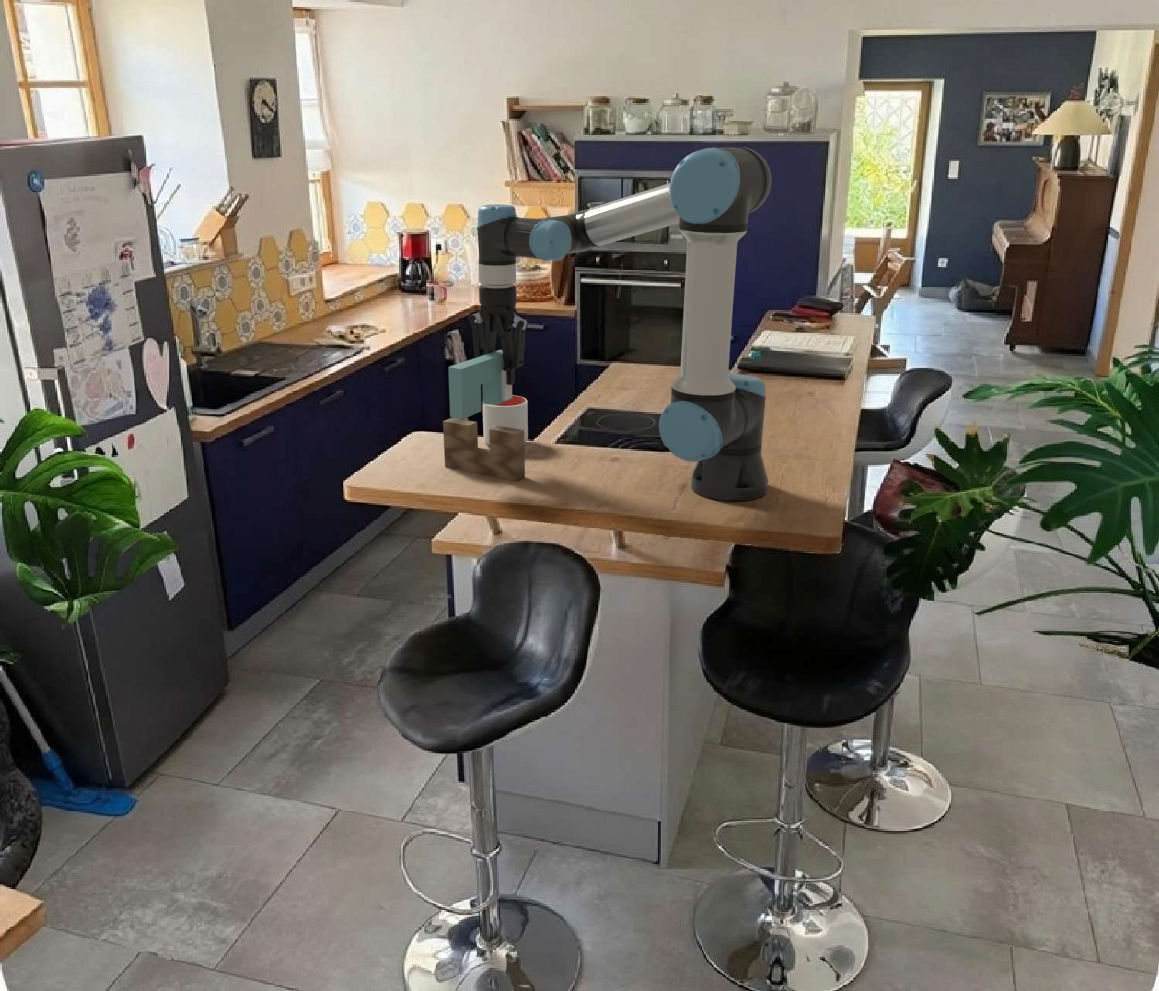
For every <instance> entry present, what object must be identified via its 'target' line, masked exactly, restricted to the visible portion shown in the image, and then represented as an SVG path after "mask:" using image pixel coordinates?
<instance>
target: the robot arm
mask: <svg viewBox="0 0 1159 991" xmlns="http://www.w3.org/2000/svg"><path fill="white" fill-rule="evenodd" d="M771 188H772V173H771V169H770V167H769V165H768V163H767V160H766V159H765V158H764V157H763V156H762V155H761V154H760V153H758V152H757V151H755V150H753V149H751V148H749V147H742V146H736V147H715V146H714V147H706V148H704V149H703V148H702V149H699V150H696V151H694V152H691V153H690V154H688V155H686V156H685V157H684V158H683V159H682V160H681V161H680V162H679V163H677V166H676V167H675V169H674V170H673V173H672V175H671V178H670V181H669V183H667V184H662V185H660V186H657V187H653V188H650V189H648V190H647V189H646V190H645V191H641V192H638V193H635V194H632V195H629V196H628V195H627V196H625V197H623V198H618V199H616V200H613V201H610V202H606V203H604V204H601V205H598V206H594V207H591V208H588V209H584V210H581V211H577V212H575V213H570V214H565V215H558V216H556V215H555V216H549V217H541V218H530V217H520V216H518V214H517V212H516V207H515V206H514V205H511V204H483V205H481V206H480V207H479V208H478V211H477V227H476V230H477V245H478V247H477V248H478V282H479V284H480V286H479V287H478V299H479V304H480V307H479V311H478V312H476V313H473V314H469V315H468V317H467V318H468V321H469V324H470V327H471V334H472V336H471V337H472V343H473V344H472V345H473V346H472V347H473V355H474V358H477V357H480V356H483V355H486V354H489V353H492V352H495V351H496V342H497V334H498V337H499V339H500V344H501V350H502V351H503V358H504V365H505V367H504V368H503V369H502V401H506V400H509V399H511V398H512V395H513V385H514V384H515V382H516V369H517V368H519V367H522V366H524V360H525V349H526V348H525V347H526V345H525V344H526V332H527V328H528V326H529V324H530V322H529V320H528V319H527V318H525V319H523V318H522V317H520V316H519V315H518V312H517V309H516V308H517V307H516V305H517V301H518V300H517V298H518V296H517V286H516V285H514V284H516V283H517V258H527V259H535V260H542V261H544V262H549V261H561V260H564V258H565V257H566V256H567V255H568V254H574V253H584V252H589V251H591V250H594V249H596V248H597V247H600V246H604V245H606V244H607V245H608V244H611V243H615V242H617V241H621V240H625V239H629V238H632V237H636V236H639V235H642V234H647V233H649V232H652V231H656V230H659V229H663V228H666V227H671V226H674V225H677V224H678V231H679V233H681V235H683V237H684V238H685V239H686V259H685V260H686V261H685V278H684V295H683V298H684V300H683V301H684V302H683V318H682V320H683V321H682V336H681V337H682V338H681V339H682V340H681V353H680V354H681V359H680V373H679V376H677V377H676V379H674V380H673V381H672V382H671V386H670V387H671V390H670V403H669V404H668V405H667V406H666V407H665V408H664V410H663V411H662V413H661V415H660V417H659V422H658V429H659V430H658V431H659V436H660V438H661V440H662V443H663V445H664V446H665V448H667V449H668V450H669V451H670V453H671V454H672V455H673V456H675V457H676V458H677V459H678V458H679V460H682V461H685V462H692V463H696V464H695V466H694V468H693V471H692V474H691V478H690V479H691V484H690V485H691V486H690V487H691V490H692V491H693V492H694V493H696V494H698V495H700V496H702V497H706V498H709V499H713V500H717V501H726V502H728V501H729V502H741V501H740V500H745V501H751V499H752V500H755V498H756V499H758V498H757V497H759V498H761V496H762V497H764V496H765V495H766V494H767V493H768V488H769V479H768V475H767V471H766V467H765V463H764V460H763V459H764V458H763V455H762V444H763V432H764V422H765V421H764V420H765V419H764V418H765V410H766V409H765V407H766V400H767V395H766V384H765V381H764V380H763V379H761V378H759V377H757V376H753V375H746V374H739V373H729V367H730V366H729V365H730V353H731V352H730V351H731V339H732V325H733V324H732V322H733V308H734V295H735V282H736V280H735V279H736V266H737V252H738V251H737V250H738V242H739V240H740V239H742V237H744V236H745V235H746V233H747V232H748V224H749V218H748V217H749V214H751V213H753V212H755V211H756V210H758V209H759V208H760V207H761V206H762V205H763V204H764V203H765V201H766V200H767V198H768V196H769V194H770V192H771ZM483 323H484V324H483ZM513 327H514V331H513ZM766 492H767V493H766ZM765 493H766V494H765ZM764 494H765V495H764Z"/></svg>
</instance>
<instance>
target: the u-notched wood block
mask: <svg viewBox="0 0 1159 991" xmlns="http://www.w3.org/2000/svg"><path fill="white" fill-rule="evenodd" d="M442 426H443V428H442V429H443V449H444V450H443V451H444V467H445V468H450V469H455V470H459V471H463V472H470V473H474V474H479V475H484V476H489V477H495V478H499V479H505V480H509V481H513V482H514V481H515V482H518V481H520V480H522V479H523V478H526V468H525V467H526V465H525V463H526V462H525V461H526V460H525V458H526V454H525V446H526V445H525V444H526V443H525V444H524V430H520V429H514V428H508V427H502V426H495V427H493V428H491V429H489V440H490V446H489V448H488V449H487V448H484V447H483V448H482V447H479V441H478V440H479V439H478V438H479V437H478V436H479V435H478V422H477V421H473V420H466V419H459V418H454V417H450V418H448V419H446V420H443V421H442Z"/></svg>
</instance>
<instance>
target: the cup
mask: <svg viewBox="0 0 1159 991" xmlns="http://www.w3.org/2000/svg"><path fill="white" fill-rule="evenodd" d="M528 406H529V404H528V400H527V398H525V397H523V396H519V395H514V394H512V399H510V400H507V401H505V402H502V403H500V404H498V405H489V404H483V403H482V423H483V424H482V425H483V426H482V427H483V428H482V429H483V441H484V443H485V444H486V445H488V446H489V447H490V440H489V429H491V428H493V427H495V426H502V427H508V428H514V429H520V430H524V444H526V443H527V441H528V439H529V425H528V424H529V422H528V420H529V419H528V416H529V414H528V411H529V410H528V409H529V407H528Z"/></svg>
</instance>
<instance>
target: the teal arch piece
mask: <svg viewBox="0 0 1159 991" xmlns="http://www.w3.org/2000/svg"><path fill="white" fill-rule="evenodd" d="M504 367H505V365H504V358H503V351H502V349H499V350H495V352H492V353H489V354H486V355H483V356H480V357H477V358H475V357H474V358H471V359H468V360H466V361H463V362H460V363H457V364H453V365H450V366H448V392H449V393H448V395H449V396H448V397H449V398H448V399H449V417H450V418H456V419H462V420H465V419H466V418H468V417H471V416H473V415H475V414H478V413H480V412H482V405H483V404H489V405H498V404H500V403H502V402H505V401H502V369H503V368H504ZM481 388H482V389H481ZM511 399H512V398H511ZM509 400H510V399H509ZM506 401H507V400H506Z"/></svg>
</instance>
